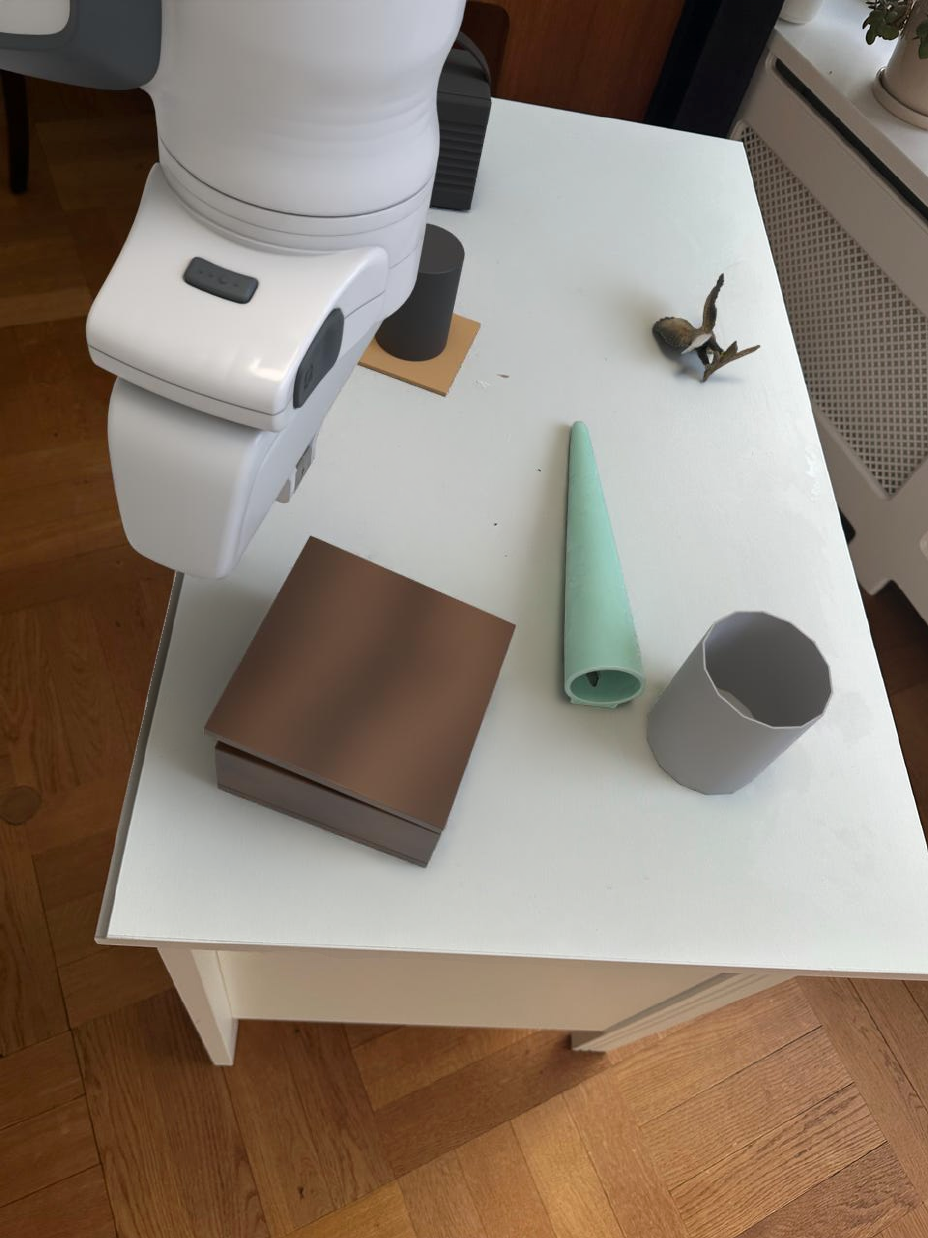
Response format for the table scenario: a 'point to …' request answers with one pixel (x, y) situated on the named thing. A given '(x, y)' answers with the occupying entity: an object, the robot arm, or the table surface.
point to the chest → (321, 805)
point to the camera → (461, 124)
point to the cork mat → (429, 372)
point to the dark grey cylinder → (426, 301)
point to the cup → (738, 702)
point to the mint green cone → (596, 593)
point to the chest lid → (366, 684)
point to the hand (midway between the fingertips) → (284, 477)
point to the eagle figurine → (702, 335)
